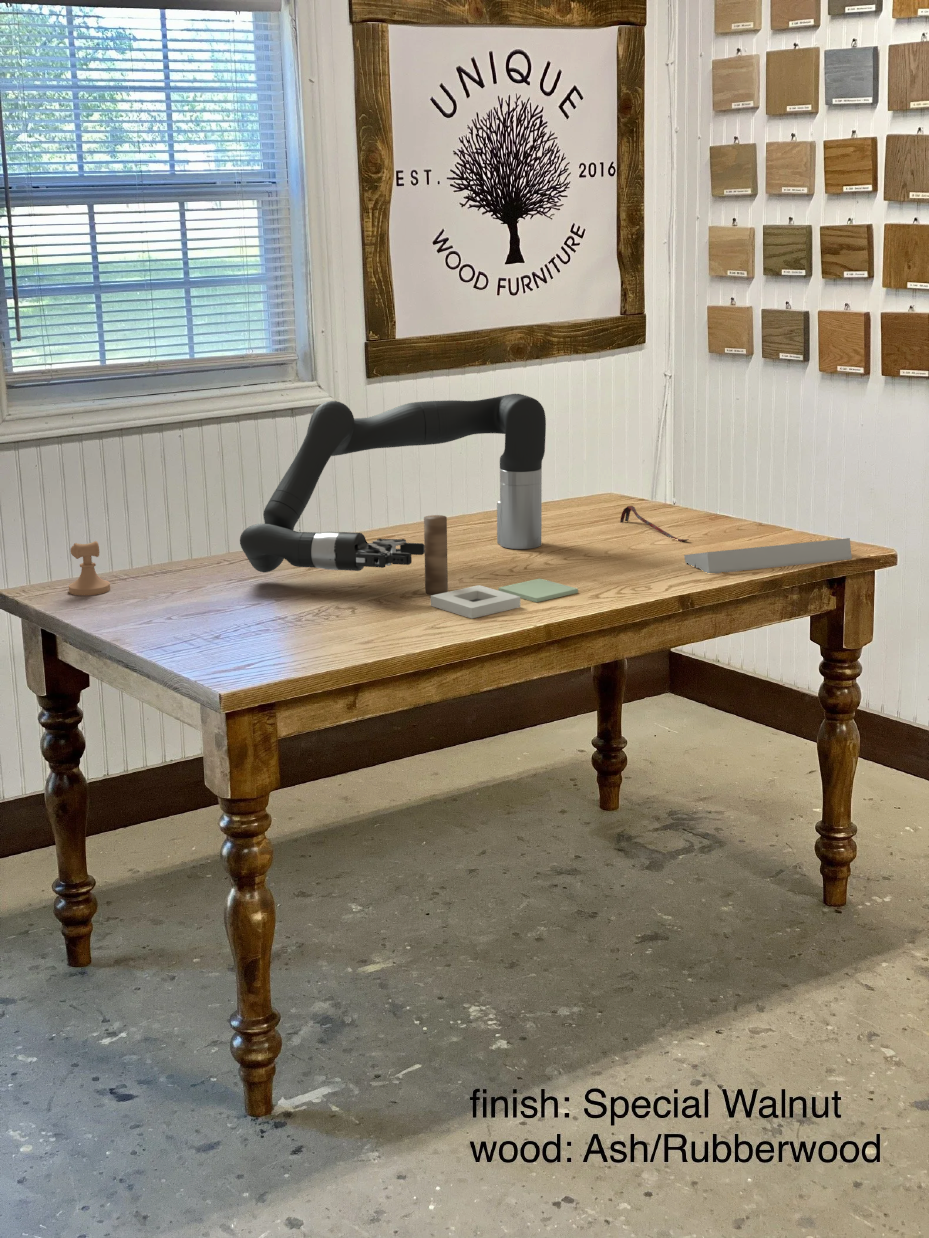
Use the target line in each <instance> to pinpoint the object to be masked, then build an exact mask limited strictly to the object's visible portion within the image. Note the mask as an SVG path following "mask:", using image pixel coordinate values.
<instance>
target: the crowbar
mask: <svg viewBox="0 0 929 1238" xmlns="http://www.w3.org/2000/svg"><path fill="white" fill-rule="evenodd" d="M631 511H632V512H633V514H634V516H635V517H636V518H637V519H638V520H639V521H641V522H642V523H644V524H646V525H648V526H649V527H651V528H652V529H654V530H655V531H658V532H659V533H661V534H662V535H664V536H667V537H668V536H669V537H668V538H670V537H671V538H670V539H672V538H675V539H678V541H677V542H681V541H682V542H685V541H689V539H683V538H682V539H681V538H678V537H676V536H673V535H672V534H670V533H669V532H667V531H665V530H663V529H662V528H660V527H659V526H657V525H655V524H654V523H653V522H650V521H649V520H647V519H645V518H644V517H643V516H641V515H640V514H639V513H638V512H637V509H636V507H635V506H633V505H628V506H625V507H624V509H623V510H622V512H621V516H620V521H619V523H624V521H628V522H629V521H630V520H629V518H630V514H631ZM675 539H674V540H675Z"/></svg>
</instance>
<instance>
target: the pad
mask: <svg viewBox="0 0 929 1238" xmlns="http://www.w3.org/2000/svg"><path fill="white" fill-rule="evenodd" d="M497 590H498V591H502V592H505V593H509V594H512V595H516V596H519V597H520V599H523V600H527V601H530V602H533V603H539V602H544V601H549V600H552V599H556V598H561V597H565V596H569V595H574V594H578V593H579V588H577V587H573V586H569V585H567V584H562V583H559V582H555V581H551V580H549V579H547V580H546V579H543V578H540V577H539V578H536V579H531V580H527V581H522V582H518V583H513V584H509V585H504V586H499V587H498V589H497Z"/></svg>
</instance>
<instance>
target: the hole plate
mask: <svg viewBox="0 0 929 1238" xmlns="http://www.w3.org/2000/svg"><path fill="white" fill-rule="evenodd" d="M430 606H431V607H433V608H437V609H440V610H443V611H446V612H448V613H453V614H456V615H459V616H462V617H466V618H469V619H471V620H472V619H475V618H480V617H485V616H488V615H493V614H496V613H502V612H505V611H509V610H515V609H518V608H521V598H520V597H519V596H516V595H512V594H509V593H505V592H502V591H498V589H496V588H495V589H494V588H491V587H487V586H483V585H480V584H478V585H477V584H476V585H472V586H469V587H464V588H460V589H455V590H451V591H448V592H445V593H440V594H436V595H430Z"/></svg>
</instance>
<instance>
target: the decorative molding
mask: <svg viewBox="0 0 929 1238" xmlns="http://www.w3.org/2000/svg"><path fill="white" fill-rule="evenodd" d="M851 547H852V546H851V539H850V538H849V537H846V538H839V539H838V538H837V539H828V540H827V539H826V540H819V541H818V540H817V541H809V542H798V543H797V542H796V543H786V544H785V543H784V544H777V545H775V544H774V545H769V546H767V545H765V546H757V547H756V546H755V547H746V548H737V549H727V550H725V549H724V550H716V551H707V552H698V553H697V552H696V553H691V554H689V553H688V554H684V555H683V556H684V562H685V564H686V563H688V564H687V565H689V566H690V565H692V566H694V567H696V569H700V571H702V570H703V571H704V573H705V572H707V573H715V574H722V573H721V572H725V573H733V572H740V571H743V570H744V571H752V570H762V569H769V568H771V569H772V568H779V567H780V568H781V567H789V566H799V565H801V566H802V565H809V564H810V565H811V564H817V563H828V562H830V563H831V562H837V561H839V562H840V561H847V560H852V558H853V557H852V555H853V554H852V548H851ZM692 566H691V567H692ZM694 567H693V568H694ZM703 571H702V572H703ZM707 573H706V574H707Z"/></svg>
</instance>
